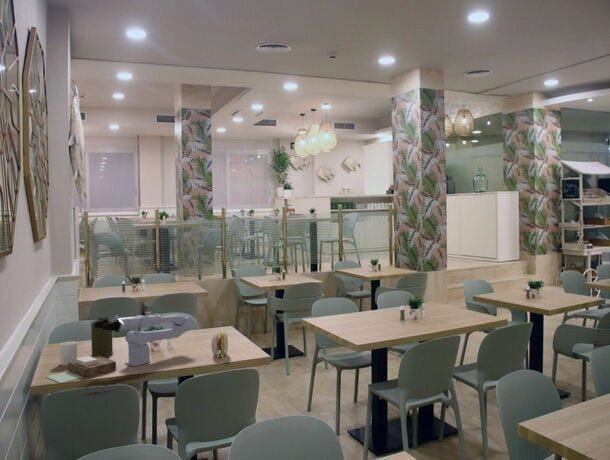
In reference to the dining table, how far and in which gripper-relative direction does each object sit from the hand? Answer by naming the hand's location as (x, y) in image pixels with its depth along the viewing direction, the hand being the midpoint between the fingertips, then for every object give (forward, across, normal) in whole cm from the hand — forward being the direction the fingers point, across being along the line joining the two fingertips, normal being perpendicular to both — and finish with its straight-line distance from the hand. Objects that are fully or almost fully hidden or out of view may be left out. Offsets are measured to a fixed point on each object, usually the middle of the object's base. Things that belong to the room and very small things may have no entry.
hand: (98, 326), depth 237 cm
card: (+2, -6, +18) cm, 19 cm away
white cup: (0, -26, +22) cm, 34 cm away
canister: (-18, -27, +20) cm, 38 cm away
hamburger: (-56, +21, +18) cm, 62 cm away
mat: (+12, -6, +22) cm, 26 cm away
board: (-1, -6, +22) cm, 22 cm away
